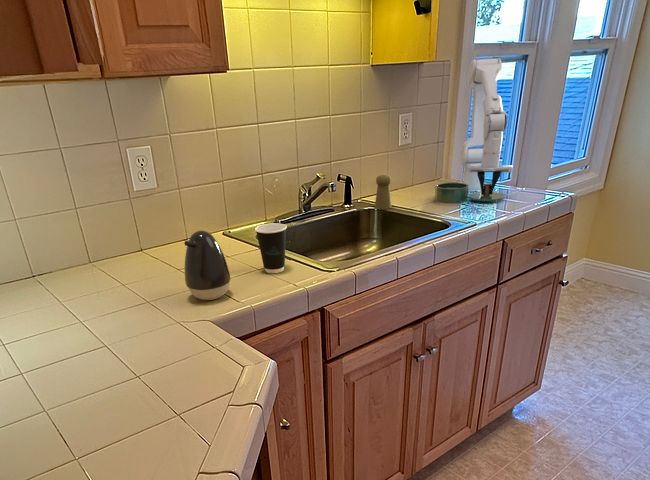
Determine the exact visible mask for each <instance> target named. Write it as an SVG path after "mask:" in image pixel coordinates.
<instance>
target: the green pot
mask: <svg viewBox="0 0 650 480" xmlns="http://www.w3.org/2000/svg"><path fill="white" fill-rule="evenodd" d="M447 187H455V188H457V189H446V188H447ZM468 188H469V185H468V184H464V183H463V182H442V183H437V184H435V187H434V191H435V192H434V201H435V202H436V203H440V204H449V205H450V204H461V203H465V202H467V201H468V199H469V198H468V195H469V191H468Z"/></svg>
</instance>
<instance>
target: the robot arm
mask: <svg viewBox="0 0 650 480" xmlns="http://www.w3.org/2000/svg"><path fill="white" fill-rule="evenodd" d="M502 63H503V62H502V60H501V57H497V58H485V59H484V58H481V59H472V60H471V62H470V65H469V70H468V87H469V88H471V89H472V109H471V125H470V138H468V139H467V140H466V141H465V142H463V144H462V147H461V152H460V163H461V165H462V166H464V168H463V178H462V183H464V184H468V185H469V188H468V192H469V191H476V192H481V194H483V190H484V183H485V179H486V173H492V176H491V177H492V178H491V191H490V194H492V193H493V192H494V189H495V187H496V184H497V182H498V181H499V179H500V177H501V175H502V173H509V174H510V173H512V172H513V165H501V164H500V159H501V151H502V143H503V134H504V132H506V129H507V125H508V115H507V113H506V111H505V110H503V103H502V97H501V95H500V94H498V87H497V83H498V82H497V81H498V80H499V77H500V76H501V74H502V67H503V64H502Z"/></svg>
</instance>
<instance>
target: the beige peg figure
mask: <svg viewBox="0 0 650 480" xmlns="http://www.w3.org/2000/svg"><path fill="white" fill-rule="evenodd" d="M375 182H376V184H377V187H376V193H375V194H376V195H375V202H374V209H377V210H389V209H391V208H392V207H393V205H392V197H391V196H392V195H391V187H390V185H391V183H392V177H391V176H390V175H389V174H381V175H377V177H376V179H375Z"/></svg>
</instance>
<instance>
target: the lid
mask: <svg viewBox="0 0 650 480" xmlns="http://www.w3.org/2000/svg"><path fill="white" fill-rule="evenodd" d="M491 185H492V182H484V190H483V194H481V191H476V192H471V193H468V198H467V199H470V200H473V201H477V202H496V201H501V200H503V199H505V197H506V194H504V193H503V192H496V191H493V193H492V194H490V191H491Z"/></svg>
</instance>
